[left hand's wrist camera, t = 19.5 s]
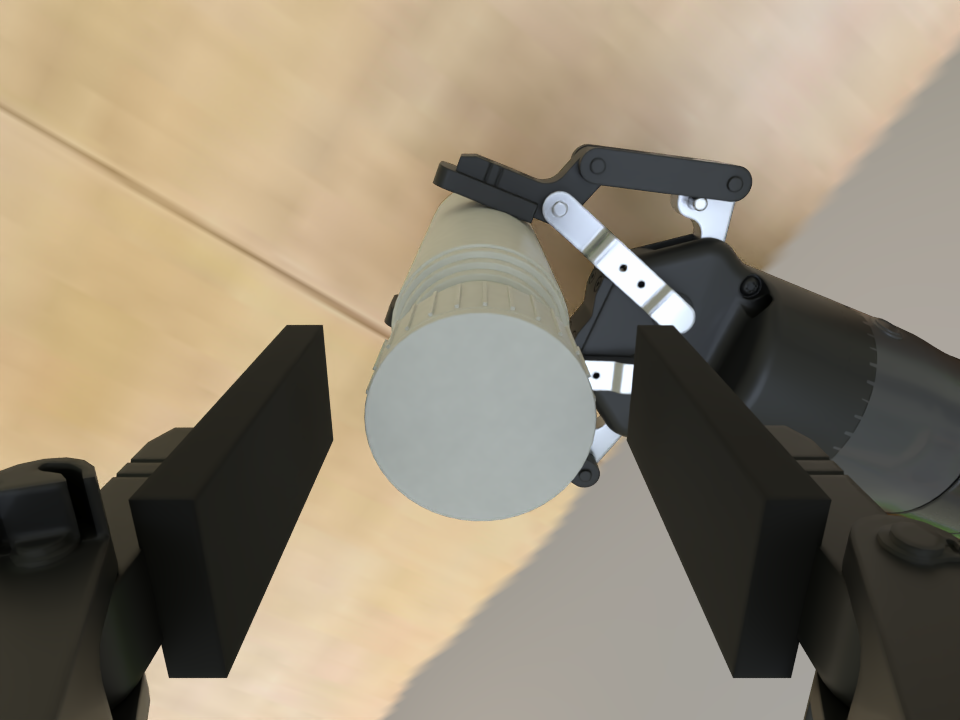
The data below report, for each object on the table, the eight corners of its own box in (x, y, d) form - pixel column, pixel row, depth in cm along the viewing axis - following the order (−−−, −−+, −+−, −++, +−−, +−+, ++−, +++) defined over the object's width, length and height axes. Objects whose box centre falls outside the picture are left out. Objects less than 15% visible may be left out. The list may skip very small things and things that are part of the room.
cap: (347, 423, 15) (326, 473, 13) (427, 243, 13) (418, 267, 11) (525, 497, 15) (531, 554, 13) (620, 333, 14) (644, 370, 12)
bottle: (542, 269, 31) (624, 479, 13) (448, 297, 32) (405, 535, 14) (515, 171, 30) (568, 261, 12) (416, 202, 30) (322, 333, 12)
